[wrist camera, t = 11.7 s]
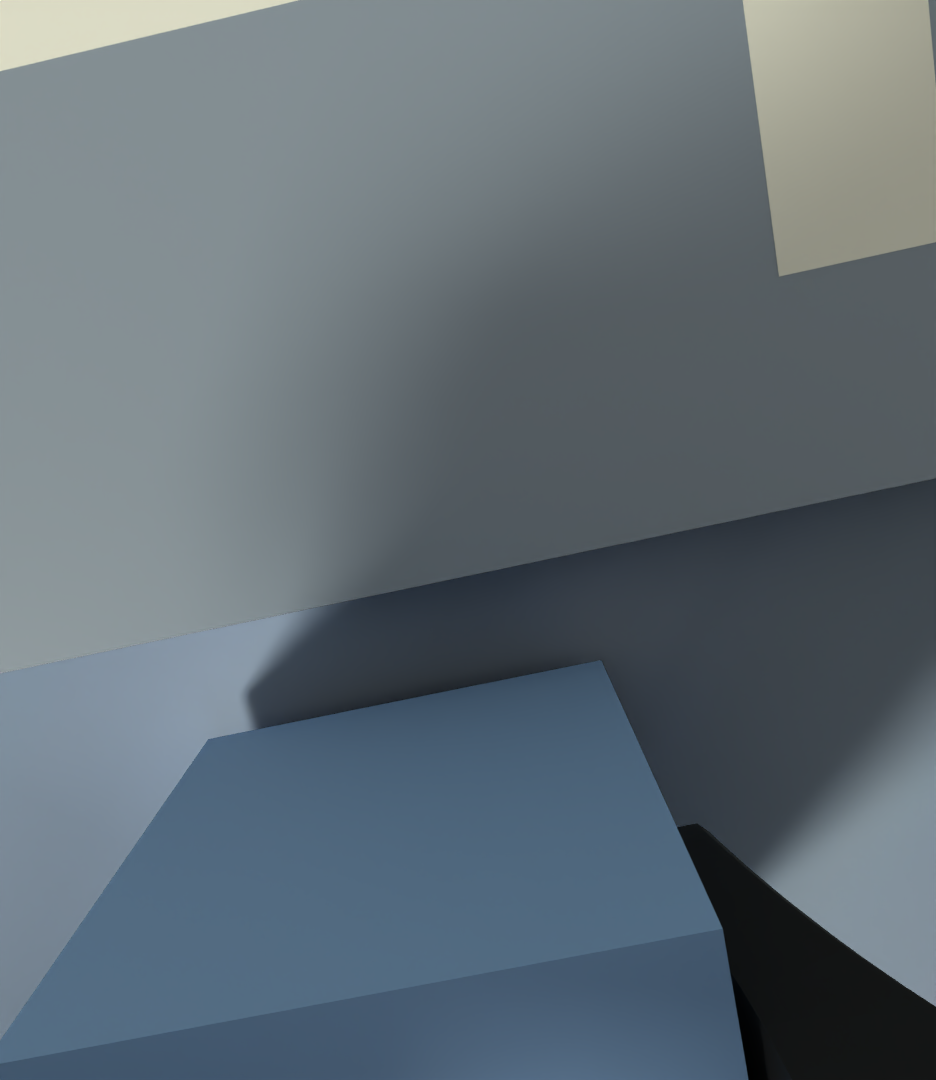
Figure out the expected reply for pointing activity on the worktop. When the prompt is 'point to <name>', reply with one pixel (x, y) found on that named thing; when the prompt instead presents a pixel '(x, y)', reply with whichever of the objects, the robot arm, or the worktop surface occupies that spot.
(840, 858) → the worktop surface
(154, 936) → the blue cube
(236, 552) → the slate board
